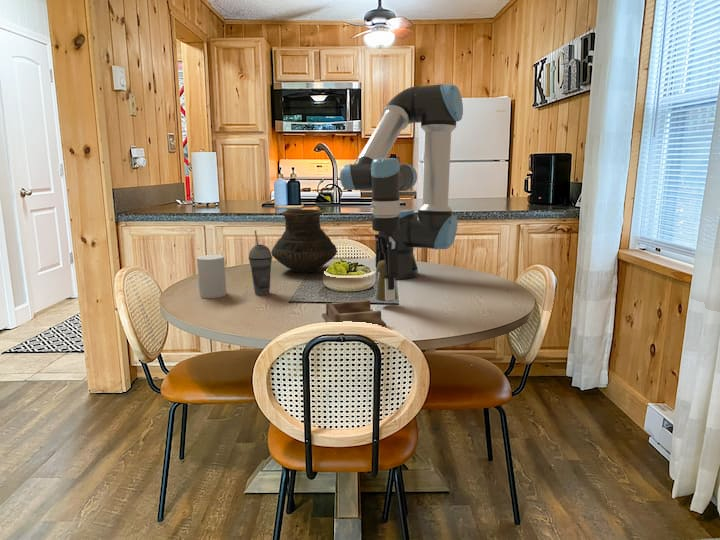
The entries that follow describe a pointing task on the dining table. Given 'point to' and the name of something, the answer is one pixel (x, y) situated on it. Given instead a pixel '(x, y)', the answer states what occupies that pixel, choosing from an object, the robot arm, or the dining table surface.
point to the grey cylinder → (211, 276)
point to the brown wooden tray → (352, 312)
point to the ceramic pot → (303, 242)
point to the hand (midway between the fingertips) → (386, 296)
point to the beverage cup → (260, 268)
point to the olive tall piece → (382, 282)
